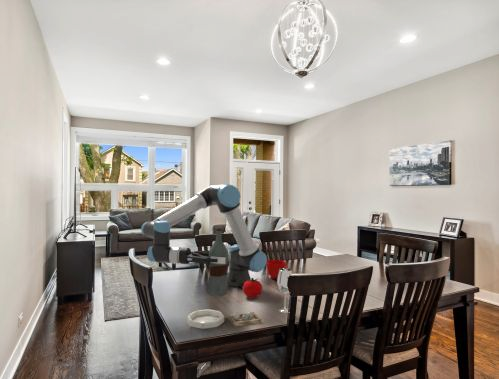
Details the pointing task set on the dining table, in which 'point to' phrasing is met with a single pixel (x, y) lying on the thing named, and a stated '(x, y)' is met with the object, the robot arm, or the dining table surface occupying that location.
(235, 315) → the pebble
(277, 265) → the ceramic cup
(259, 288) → the tomato
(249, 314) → the pebble
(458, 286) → the dining table surface
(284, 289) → the wineglass
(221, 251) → the vodka
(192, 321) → the bowl
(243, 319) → the pebble
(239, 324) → the parts tray
